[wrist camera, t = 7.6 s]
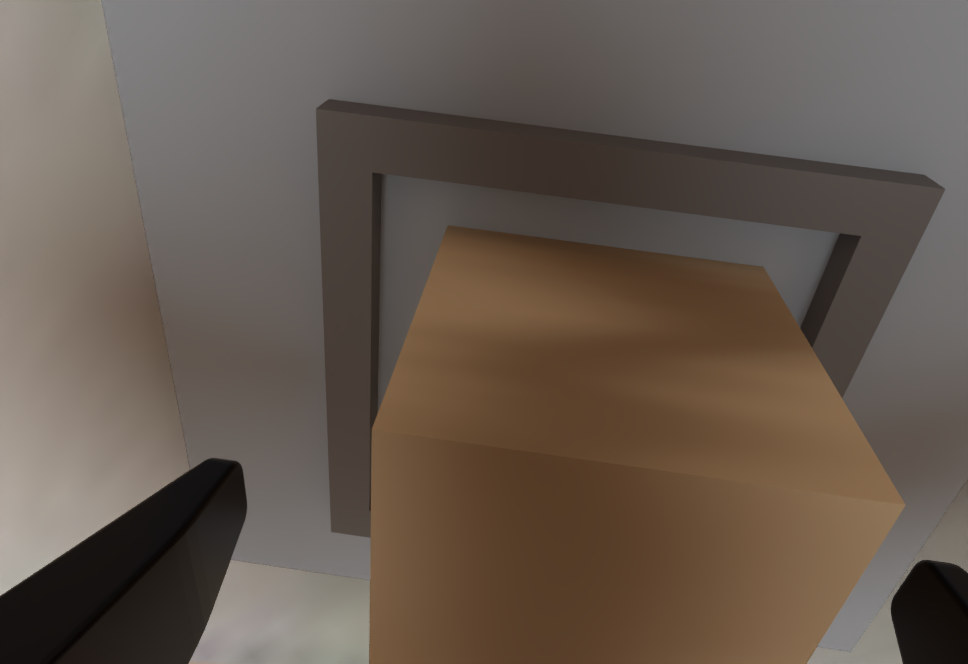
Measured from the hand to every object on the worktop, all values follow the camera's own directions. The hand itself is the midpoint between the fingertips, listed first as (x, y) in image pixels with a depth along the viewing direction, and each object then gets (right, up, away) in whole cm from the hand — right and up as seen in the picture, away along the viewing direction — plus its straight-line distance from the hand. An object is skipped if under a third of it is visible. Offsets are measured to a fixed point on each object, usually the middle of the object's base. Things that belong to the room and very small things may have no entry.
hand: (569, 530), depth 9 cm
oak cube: (+1, +2, +3) cm, 4 cm away
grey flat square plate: (+1, +2, +4) cm, 4 cm away
